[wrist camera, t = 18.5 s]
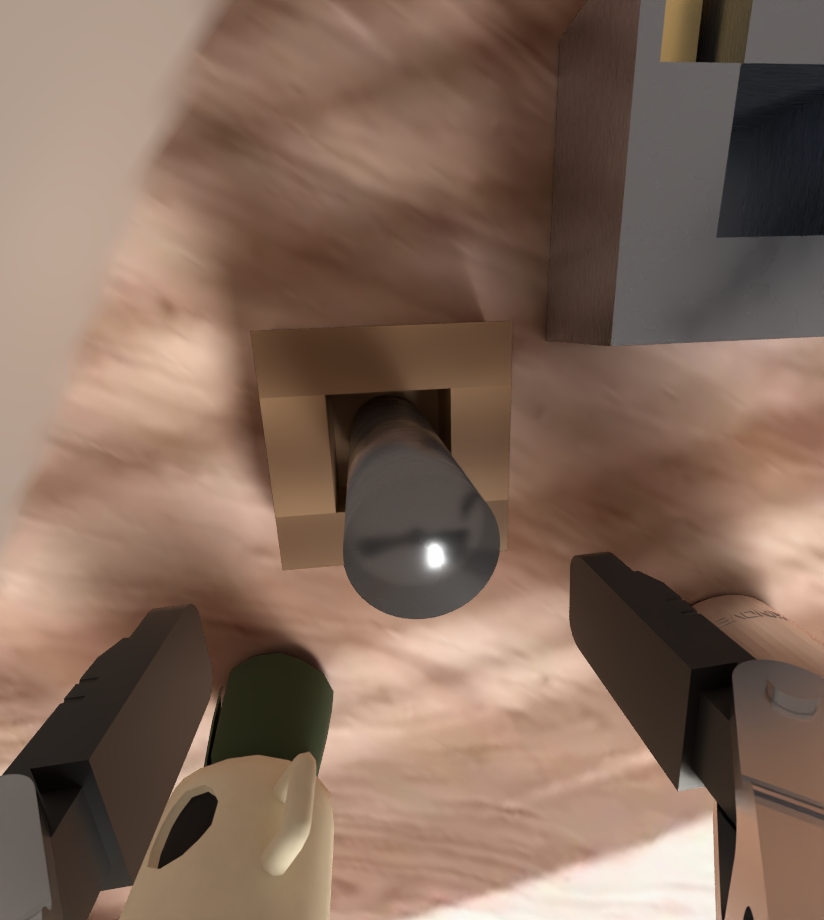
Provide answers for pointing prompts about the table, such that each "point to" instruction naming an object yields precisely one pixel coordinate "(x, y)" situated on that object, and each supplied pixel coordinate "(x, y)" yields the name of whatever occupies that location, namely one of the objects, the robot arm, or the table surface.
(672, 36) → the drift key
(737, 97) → the socket block
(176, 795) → the character mug
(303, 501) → the wooden square-hole block
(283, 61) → the table surface
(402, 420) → the cylinder
